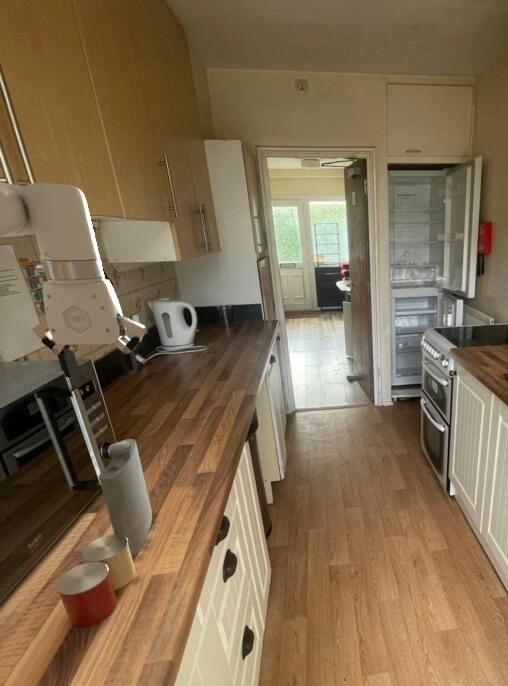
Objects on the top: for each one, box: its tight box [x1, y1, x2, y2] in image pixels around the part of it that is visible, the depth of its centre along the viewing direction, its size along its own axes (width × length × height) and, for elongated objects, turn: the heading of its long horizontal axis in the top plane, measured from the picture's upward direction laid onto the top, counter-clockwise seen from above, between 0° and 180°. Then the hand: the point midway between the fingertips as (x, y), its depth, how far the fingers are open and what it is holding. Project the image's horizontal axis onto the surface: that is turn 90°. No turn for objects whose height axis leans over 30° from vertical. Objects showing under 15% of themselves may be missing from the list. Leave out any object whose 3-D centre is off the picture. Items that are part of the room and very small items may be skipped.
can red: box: [56, 562, 118, 628], centre depth 68 cm, size 7×7×7 cm
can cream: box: [81, 533, 136, 592], centre depth 75 cm, size 7×7×7 cm
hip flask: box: [98, 438, 153, 558], centre depth 84 cm, size 16×4×20 cm, turn 17°
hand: (102, 374), depth 75 cm, fingers open, 9 cm apart
